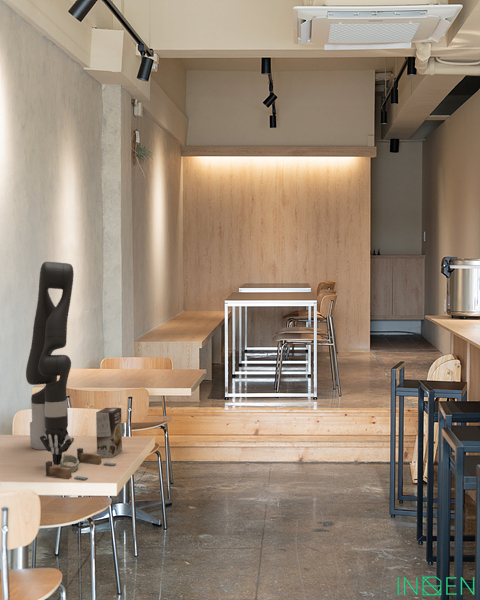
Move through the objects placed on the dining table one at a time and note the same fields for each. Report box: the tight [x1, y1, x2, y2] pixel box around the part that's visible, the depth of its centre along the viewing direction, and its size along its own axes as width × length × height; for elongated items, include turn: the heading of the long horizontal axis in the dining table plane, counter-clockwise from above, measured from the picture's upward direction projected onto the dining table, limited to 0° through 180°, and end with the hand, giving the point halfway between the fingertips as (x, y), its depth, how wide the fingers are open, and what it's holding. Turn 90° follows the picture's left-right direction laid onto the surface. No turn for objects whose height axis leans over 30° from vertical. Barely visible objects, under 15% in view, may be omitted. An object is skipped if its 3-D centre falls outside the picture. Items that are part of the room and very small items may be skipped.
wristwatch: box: [59, 454, 80, 473], centre depth 216 cm, size 9×6×5 cm
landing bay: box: [74, 461, 117, 482], centre depth 212 cm, size 4×18×1 cm, turn 157°
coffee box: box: [95, 407, 123, 458], centre depth 234 cm, size 9×6×16 cm
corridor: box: [45, 447, 102, 480], centre depth 216 cm, size 9×18×4 cm, turn 157°
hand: (57, 464), depth 218 cm, fingers closed
